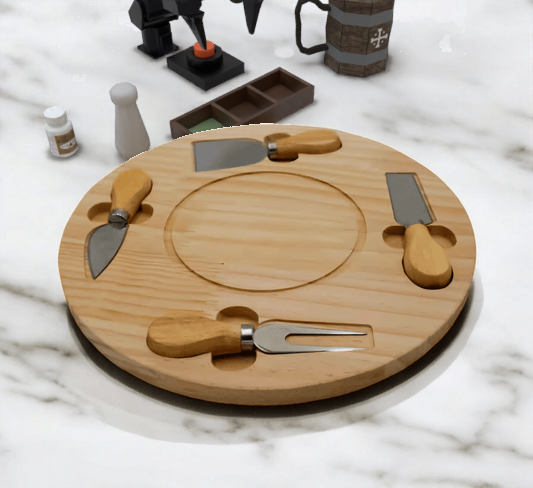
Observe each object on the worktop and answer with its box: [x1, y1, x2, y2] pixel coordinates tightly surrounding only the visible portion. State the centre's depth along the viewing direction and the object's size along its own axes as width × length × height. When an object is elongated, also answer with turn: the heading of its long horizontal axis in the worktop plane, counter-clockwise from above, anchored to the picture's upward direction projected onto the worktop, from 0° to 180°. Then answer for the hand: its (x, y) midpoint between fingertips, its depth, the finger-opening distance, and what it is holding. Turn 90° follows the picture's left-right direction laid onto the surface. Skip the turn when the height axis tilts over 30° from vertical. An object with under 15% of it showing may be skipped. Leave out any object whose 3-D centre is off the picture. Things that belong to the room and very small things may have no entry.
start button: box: [192, 39, 215, 58], centre depth 126 cm, size 4×4×2 cm
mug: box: [294, 0, 396, 79], centre depth 126 cm, size 20×14×15 cm
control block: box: [165, 43, 245, 92], centre depth 127 cm, size 12×10×4 cm
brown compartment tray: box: [169, 66, 316, 140], centre depth 116 cm, size 9×26×4 cm, turn 133°
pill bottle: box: [43, 105, 79, 158], centre depth 108 cm, size 4×4×8 cm
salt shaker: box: [109, 81, 151, 162], centre depth 105 cm, size 6×6×13 cm
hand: (228, 41), depth 108 cm, fingers open, 9 cm apart
